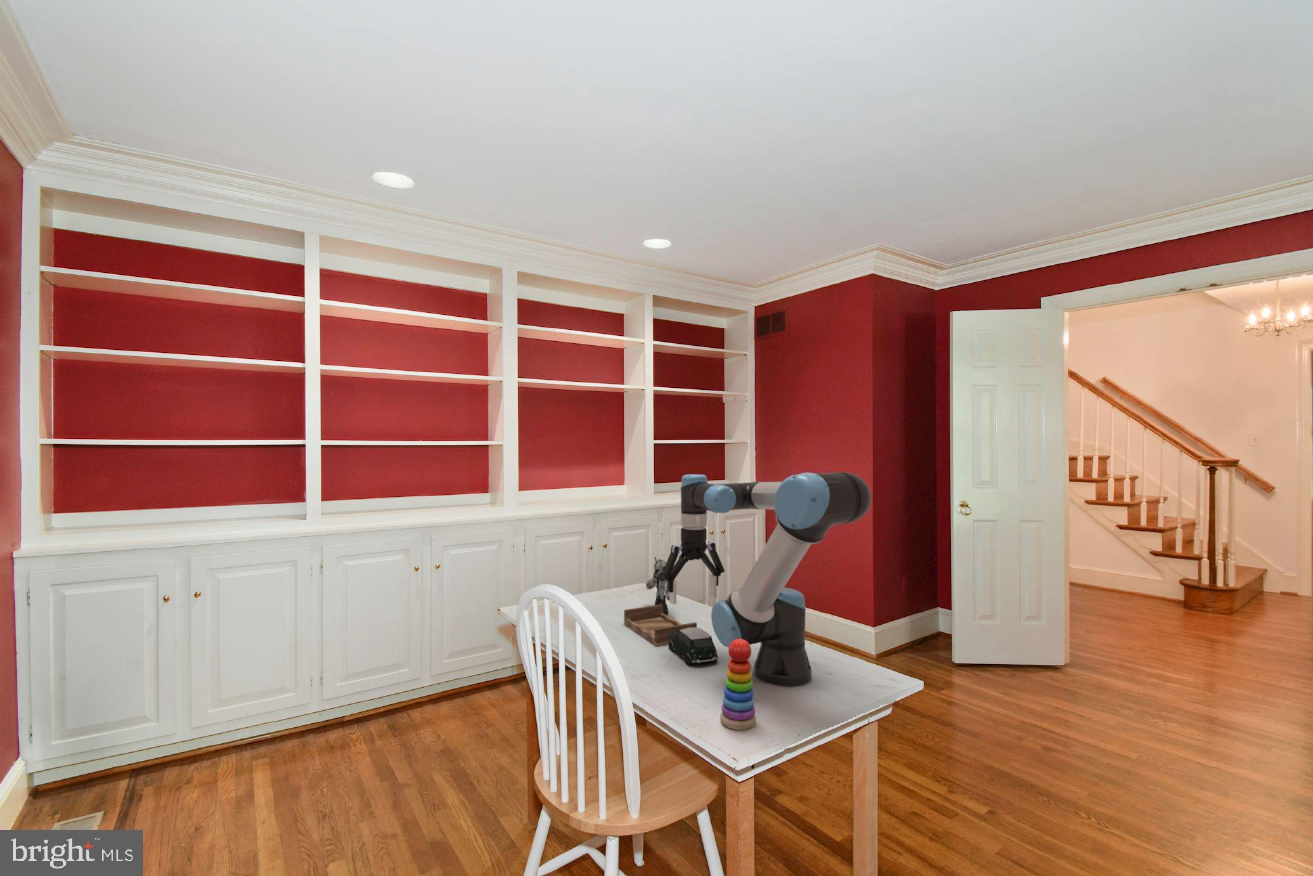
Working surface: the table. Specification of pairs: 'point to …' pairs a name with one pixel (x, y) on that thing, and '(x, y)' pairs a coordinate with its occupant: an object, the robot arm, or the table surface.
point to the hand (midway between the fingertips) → (693, 600)
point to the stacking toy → (738, 688)
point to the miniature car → (693, 645)
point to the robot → (659, 585)
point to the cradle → (653, 624)
